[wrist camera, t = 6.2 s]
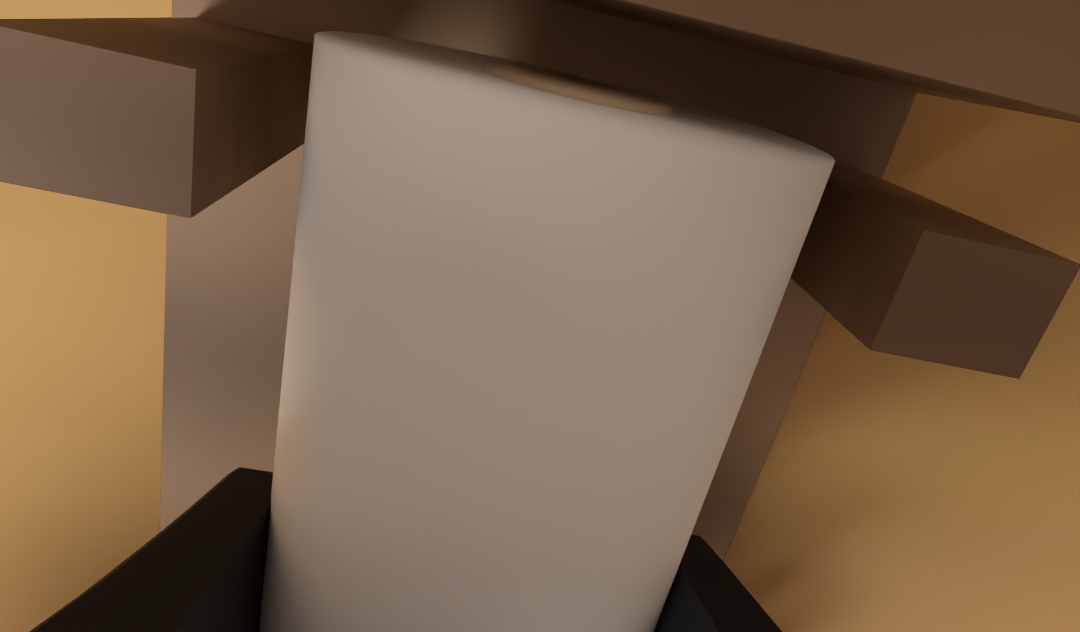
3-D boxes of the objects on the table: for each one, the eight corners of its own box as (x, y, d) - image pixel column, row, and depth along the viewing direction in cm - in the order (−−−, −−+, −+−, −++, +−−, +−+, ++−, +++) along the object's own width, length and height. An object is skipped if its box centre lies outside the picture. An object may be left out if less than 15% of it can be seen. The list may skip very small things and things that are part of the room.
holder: (631, 733, 16) (684, 1023, 11) (172, 684, 15) (23, 990, 10) (910, 31, 10) (1237, 45, 6) (202, -155, 9) (-109, -332, 4)
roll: (557, 760, 13) (517, 1116, 9) (316, 692, 14) (160, 1008, 9) (780, 119, 9) (926, 197, 4) (411, 27, 9) (191, 14, 5)
